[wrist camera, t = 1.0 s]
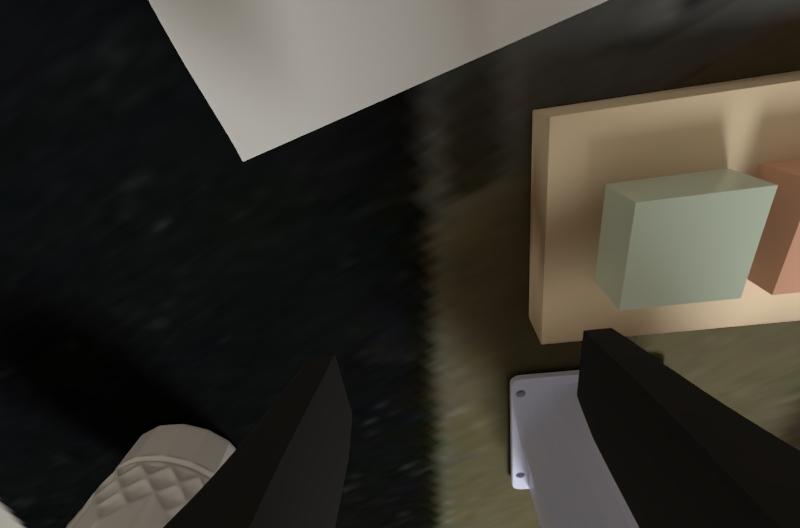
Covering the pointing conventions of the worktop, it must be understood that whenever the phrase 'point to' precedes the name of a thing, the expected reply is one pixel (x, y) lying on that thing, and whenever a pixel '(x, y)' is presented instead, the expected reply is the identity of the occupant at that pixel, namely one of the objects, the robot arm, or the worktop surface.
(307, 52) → the kitchen cleaver
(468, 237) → the worktop surface
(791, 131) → the wooden board
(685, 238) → the sage tile
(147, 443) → the white cup
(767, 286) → the terracotta tile
